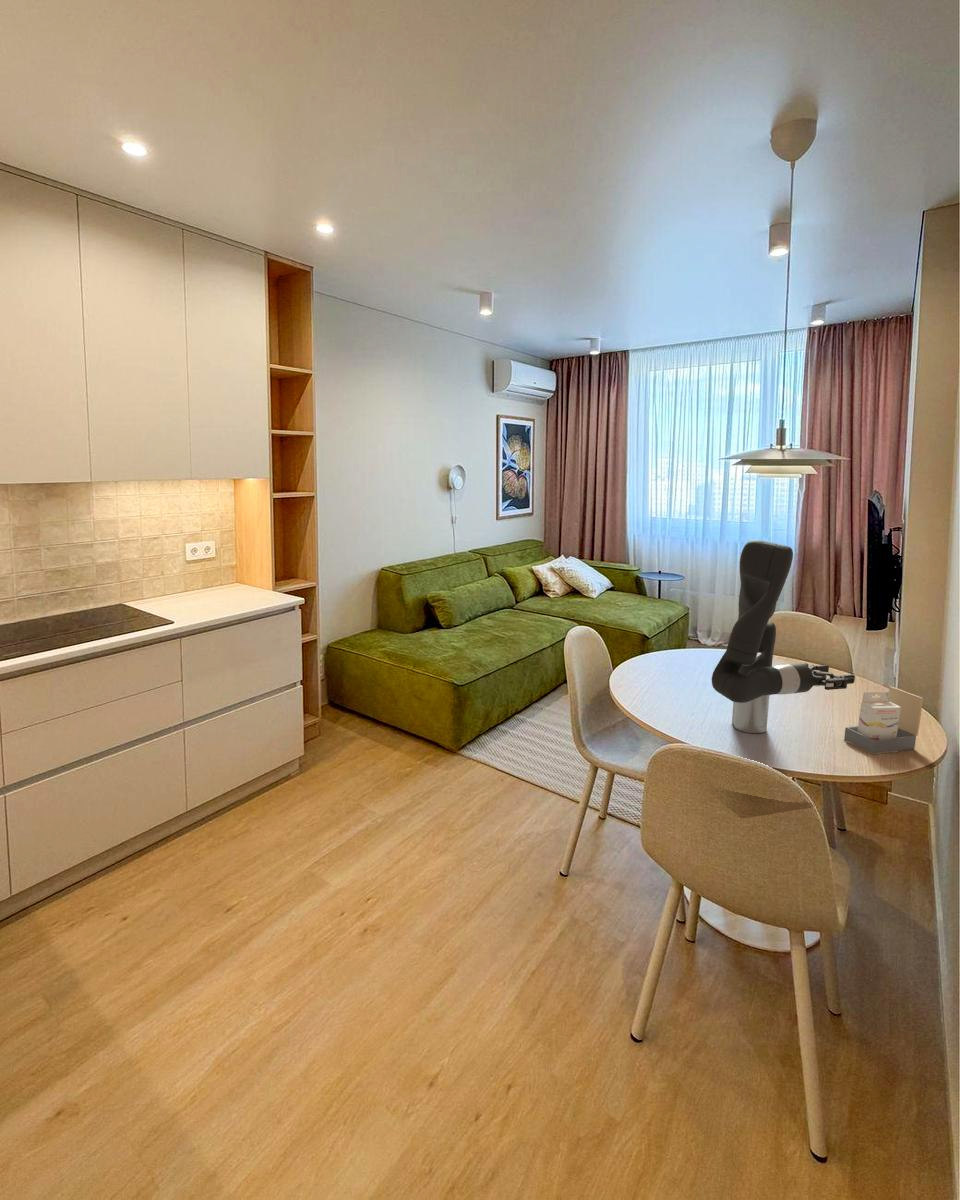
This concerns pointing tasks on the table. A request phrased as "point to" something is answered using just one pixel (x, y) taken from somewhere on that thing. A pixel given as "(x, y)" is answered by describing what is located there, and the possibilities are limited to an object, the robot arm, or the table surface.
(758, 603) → the robot arm
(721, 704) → the table surface
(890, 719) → the ink cartridge box
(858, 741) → the mailer box
